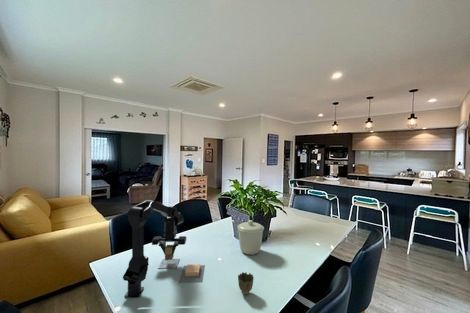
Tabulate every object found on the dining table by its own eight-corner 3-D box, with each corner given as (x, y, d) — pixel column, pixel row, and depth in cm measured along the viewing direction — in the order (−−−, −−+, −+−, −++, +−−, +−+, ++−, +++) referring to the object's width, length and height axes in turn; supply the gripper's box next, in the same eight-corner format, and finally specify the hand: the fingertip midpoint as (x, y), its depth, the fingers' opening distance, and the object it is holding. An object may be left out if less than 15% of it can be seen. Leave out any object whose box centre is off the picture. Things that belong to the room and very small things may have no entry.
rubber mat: (202, 283, 105) (202, 282, 105) (178, 283, 104) (178, 282, 104) (204, 266, 121) (204, 265, 121) (184, 266, 120) (184, 265, 120)
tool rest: (176, 269, 117) (176, 267, 117) (157, 269, 116) (157, 268, 116) (179, 260, 127) (179, 258, 127) (162, 260, 126) (162, 258, 126)
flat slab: (198, 272, 110) (200, 264, 118) (185, 272, 109) (187, 264, 117) (198, 276, 110) (200, 268, 118) (185, 276, 109) (187, 268, 117)
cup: (235, 296, 96) (235, 279, 96) (240, 286, 103) (240, 270, 103) (250, 300, 94) (251, 282, 93) (255, 290, 100) (255, 274, 100)
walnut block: (171, 259, 120) (172, 247, 120) (164, 259, 119) (165, 247, 119) (173, 256, 124) (173, 244, 124) (166, 256, 123) (166, 244, 123)
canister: (267, 257, 133) (267, 224, 133) (239, 258, 130) (240, 225, 130) (259, 244, 151) (259, 216, 151) (234, 246, 148) (235, 216, 148)
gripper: (188, 223, 130) (187, 248, 130) (157, 223, 129) (157, 248, 129) (185, 230, 119) (184, 257, 119) (151, 230, 118) (151, 257, 118)
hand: (169, 254), depth 121 cm, fingers closed on walnut block, 4 cm apart
